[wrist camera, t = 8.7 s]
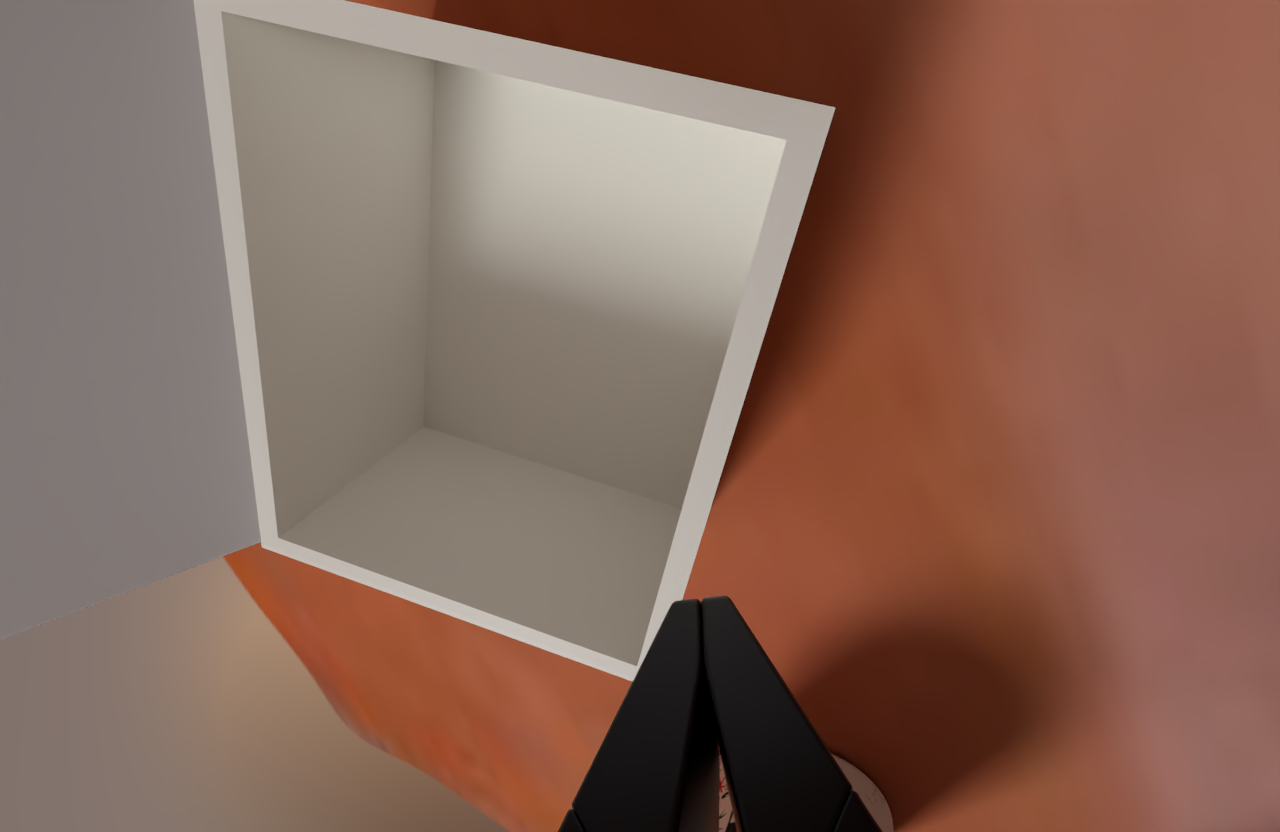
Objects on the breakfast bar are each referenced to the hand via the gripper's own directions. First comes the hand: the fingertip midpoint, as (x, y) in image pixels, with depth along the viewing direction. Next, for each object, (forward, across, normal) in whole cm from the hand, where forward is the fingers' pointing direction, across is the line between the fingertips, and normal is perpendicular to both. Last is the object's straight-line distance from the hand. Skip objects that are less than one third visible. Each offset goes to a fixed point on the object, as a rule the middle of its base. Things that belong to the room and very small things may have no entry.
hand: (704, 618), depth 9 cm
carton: (+13, +3, -1) cm, 14 cm away
